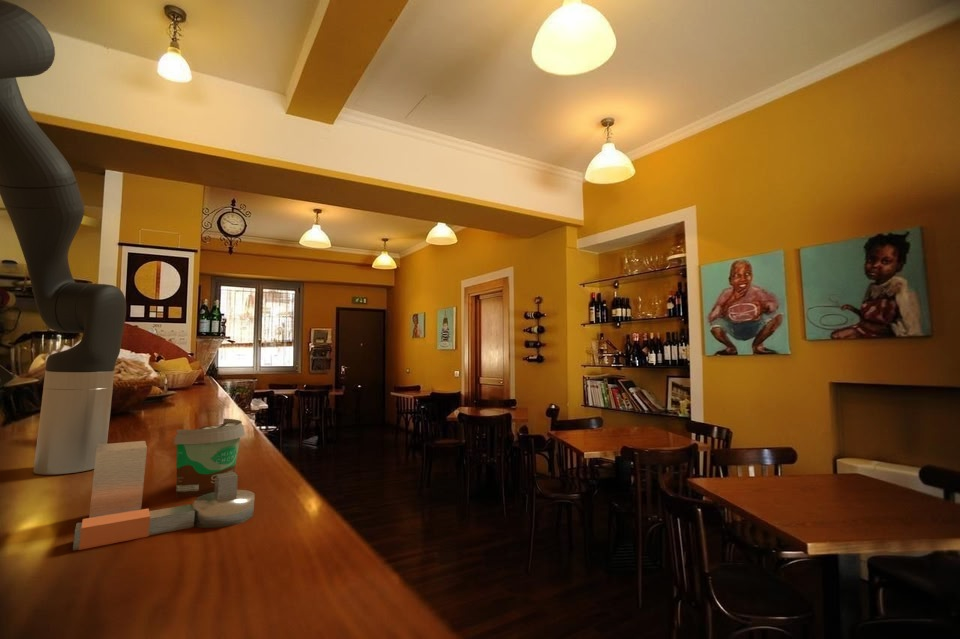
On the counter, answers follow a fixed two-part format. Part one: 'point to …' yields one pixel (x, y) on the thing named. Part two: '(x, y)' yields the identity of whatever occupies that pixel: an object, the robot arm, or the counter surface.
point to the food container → (206, 456)
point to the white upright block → (118, 478)
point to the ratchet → (170, 516)
